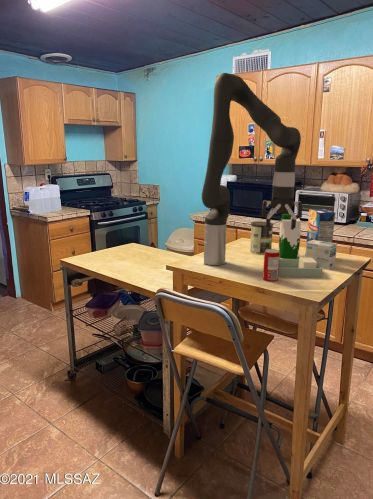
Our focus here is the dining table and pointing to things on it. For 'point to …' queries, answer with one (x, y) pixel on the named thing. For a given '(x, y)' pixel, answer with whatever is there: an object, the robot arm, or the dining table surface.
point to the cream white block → (307, 263)
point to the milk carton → (289, 238)
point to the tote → (296, 269)
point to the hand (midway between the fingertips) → (280, 229)
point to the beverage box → (320, 225)
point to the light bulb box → (322, 253)
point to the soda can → (271, 265)
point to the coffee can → (260, 237)
